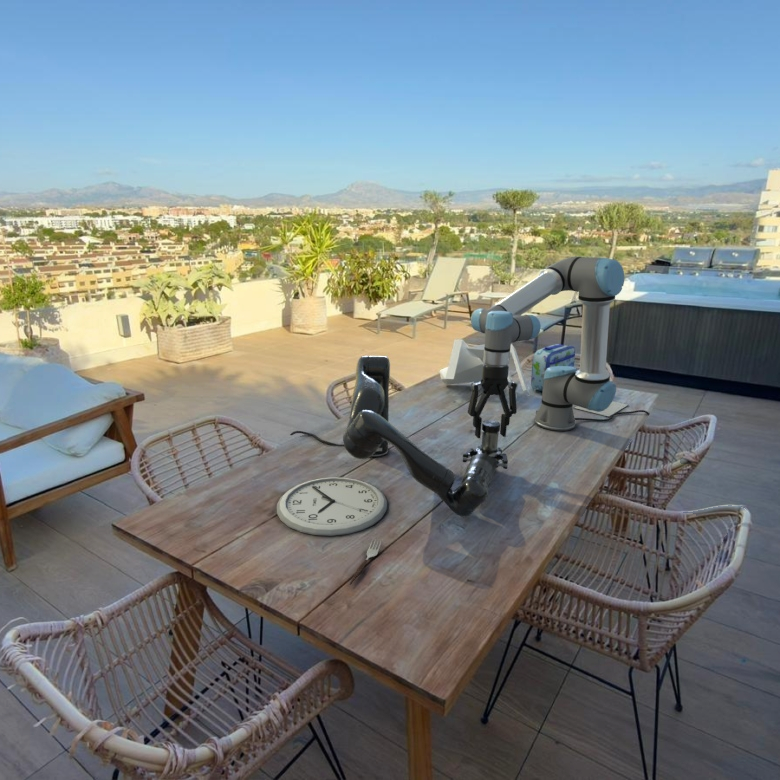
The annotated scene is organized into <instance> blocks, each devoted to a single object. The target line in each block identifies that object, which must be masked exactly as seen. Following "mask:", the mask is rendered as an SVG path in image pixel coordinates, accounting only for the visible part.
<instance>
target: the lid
mask: <svg viewBox="0 0 780 780" xmlns="http://www.w3.org/2000/svg"><path fill="white" fill-rule="evenodd" d="M500 427H501V422H499V421H497V420H492V419H488V420H483V421H482V422H481V431H482V432H483V431H484V432H488V433H497V432H499V433H500Z"/></svg>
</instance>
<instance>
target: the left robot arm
mask: <svg viewBox="0 0 780 780" xmlns="http://www.w3.org/2000/svg"><path fill="white" fill-rule="evenodd" d="M355 367H356V368H355V383H354V388H353V392H352V397H351V405H350V410H349V417H348V421H347V425H346V427H345V430H344V432H343V435H342V443H343V444H339V443H334V442H331V441H327V440H324V439H321V438H320V437H319V436H317V435H316V434H314V433H311V432H306V431H302V430H295V431H292V432H291V433H290V434H289V436H293V435H295V434H303V435H306V436H310V437H314V438H315V439H316V440H317V441H319V442H321V443H323V444H326V445H329V446H333V447H344V448H345V450H346V451H347V452H348V454H349V455H350V456H352V457H353V458H354V459H357V460H367V459H369V458H371V457H372V458H379V457H383V456H386V455H387V454H389V445H392V447H394V448H395V449H396V451H398V453H399V455H400V456H401V458H402V460H403V463H404V464H405V467H406V468H407V470H408V472H409V473H410V476H411V477H412V478H413V479H414V480H415V481H416V482H418V483H419V484H420V485H422V486H423V487H425V488H427V489H428V490H430V492H433V493H435V495H437V496H438V497H439V499H441V501H443V503H444V504H445V505H446V506H447V507H448V508H449V510H451V512H452V513H453V514H455V515H456V516H458V517H461V518H462V517H463V518H465V517H466V518H467V517H469V516H471V515H472V514H473V513H474V512H475V511H476V510H477V509H478V508H479V507H480V506H481V505H482V504H483V503H484V502H486V499H487V498H488V495H489V488H488V486H489V484H490V483H491V481H492V479H493V477H494V474H495V473H496V469H498V468H499V467H501V468H502V469H504V470H507V469H508V465H509V460H508V455H507V453H505V452H504V453H503V449H501V447H498V446H497V451H496V453H492V454H490V455H487V454H482V451H481V446H482V444H480V445H478V446H477V448H475V449H474V448H473V447H472V448H469V449H467V450H466V451H465V452H463V453H462V463H467V462H469V464H468V465H466V469H465V472H464V474H463V477H462V479H461V484H460V485H459V486H458V487H457V488H456V489H455V490H454V489H452V487H453V486H454V484H455V480H456V476H455V475H456V474H455V473H454V472H453V471H452V470H451V469H449V468H448V467H446V466H445V465H443V464H441V463H440V462H438V461H437V460H435V459H434V458H432V457H431V456H430V455H428V454H427V453H425V452H424V451H423V450H421V448H419V447H418V446H417V445H416V444H415V443H414V442H412V441H411V440H410V439H409V438H408V437H407V436H406V435H404V433H402V432H401V431H400V430H399V429H397V428H396V427H395V426H394V425H393V424H392V423H391V422H389V418H390V417H389V415H390V414H389V411H390V410H389V409H390V407H389V405H390V395H389V394H390V377H391V361H390V358H389V357H388V356H385V355H363V356H360V357H359V358H358V360H357V362H356V366H355ZM494 472H495V473H494Z"/></svg>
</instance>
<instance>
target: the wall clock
mask: <svg viewBox="0 0 780 780" xmlns="http://www.w3.org/2000/svg"><path fill="white" fill-rule="evenodd" d="M387 509H388V500H387V498H386V496H385V494H384V493H383V492H382V491H381V490H380V489H379V488H377V487H376V486H374V485H372V484H371V483H369V482H365V481H362V480H359V479H355V478H349V477H338V476H337V477H335V476H333V477H332V476H331V477H322V478H317V479H312V480H307V481H305V482H302V483H299V484H297V485H295V486H293V487H292V488H290V489H288V490H287V491H286V492H285V493H284V494H283V495H281V496H280V498H279V499H278V502H277V503H276V515H277V517H278V518H279V520H280V521H281V522H282V523H283V524H285V525H286V526H287V527H288V528H290V529H293V530H295V531H297V532H299V533H303V534H308V535H312V536H327V537H328V536H329V537H331V536H332V537H333V536H342V535H350V534H352V533H356V532H361V531H363V530H366V529H368V528H369V527H372V526H373V525H375V524H376V523H378V522H379V521H380V520H381V519H382V518H383V517H384V516H385V514H386V512H387Z"/></svg>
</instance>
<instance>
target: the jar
mask: <svg viewBox="0 0 780 780" xmlns="http://www.w3.org/2000/svg"><path fill="white" fill-rule="evenodd" d="M499 434H500V431H499V432H497V433H488V432H484V431H483V430H482V432H481V435H482V436H481V445H482V446H481V451H482V454H487V455H490V454H492V453H496V451H497V449H498V444H499ZM495 473H496V471H495V472H494V474H495Z"/></svg>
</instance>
